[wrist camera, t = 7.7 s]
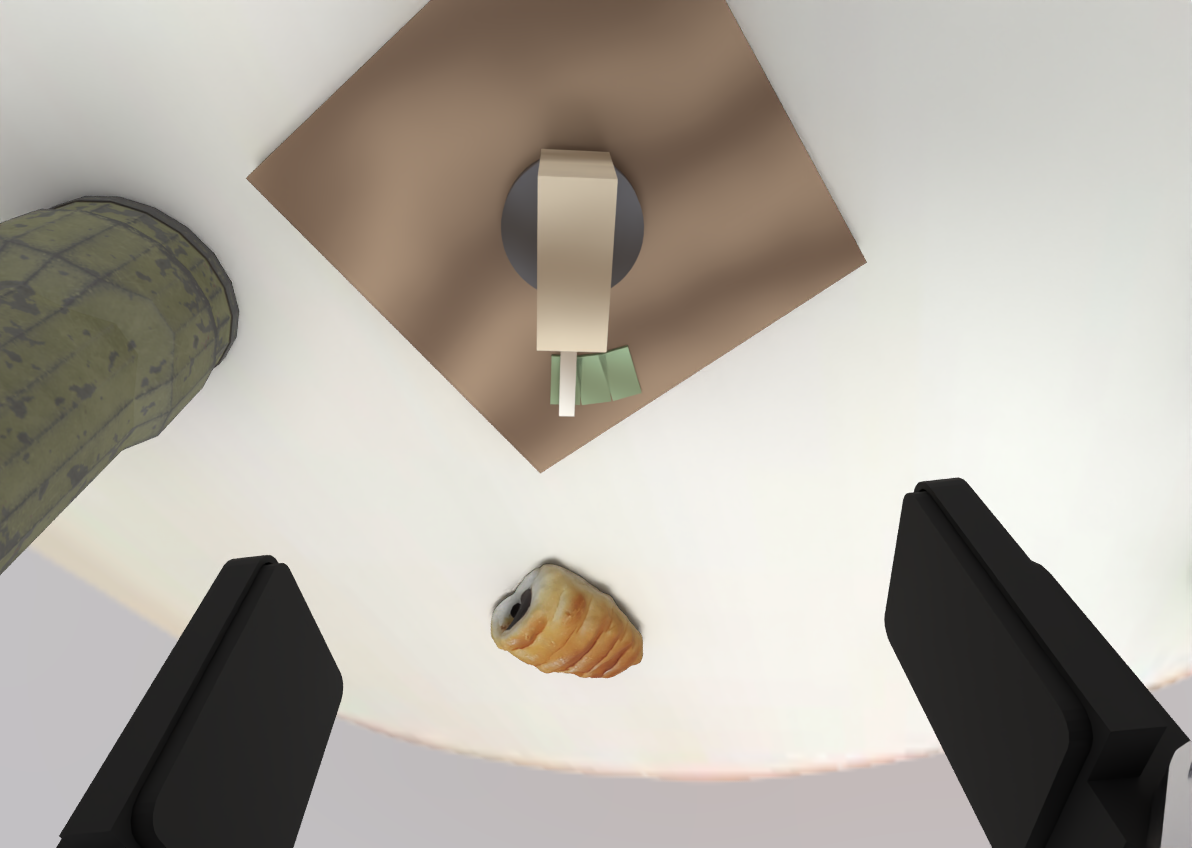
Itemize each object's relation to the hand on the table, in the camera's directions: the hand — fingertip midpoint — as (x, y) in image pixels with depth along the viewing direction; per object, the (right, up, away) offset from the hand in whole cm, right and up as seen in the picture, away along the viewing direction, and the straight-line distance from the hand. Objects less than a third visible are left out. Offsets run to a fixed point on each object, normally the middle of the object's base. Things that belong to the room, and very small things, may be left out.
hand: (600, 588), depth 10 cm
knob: (-1, +8, +18) cm, 20 cm away
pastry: (-2, -9, +32) cm, 33 cm away
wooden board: (-1, +12, +18) cm, 22 cm away
